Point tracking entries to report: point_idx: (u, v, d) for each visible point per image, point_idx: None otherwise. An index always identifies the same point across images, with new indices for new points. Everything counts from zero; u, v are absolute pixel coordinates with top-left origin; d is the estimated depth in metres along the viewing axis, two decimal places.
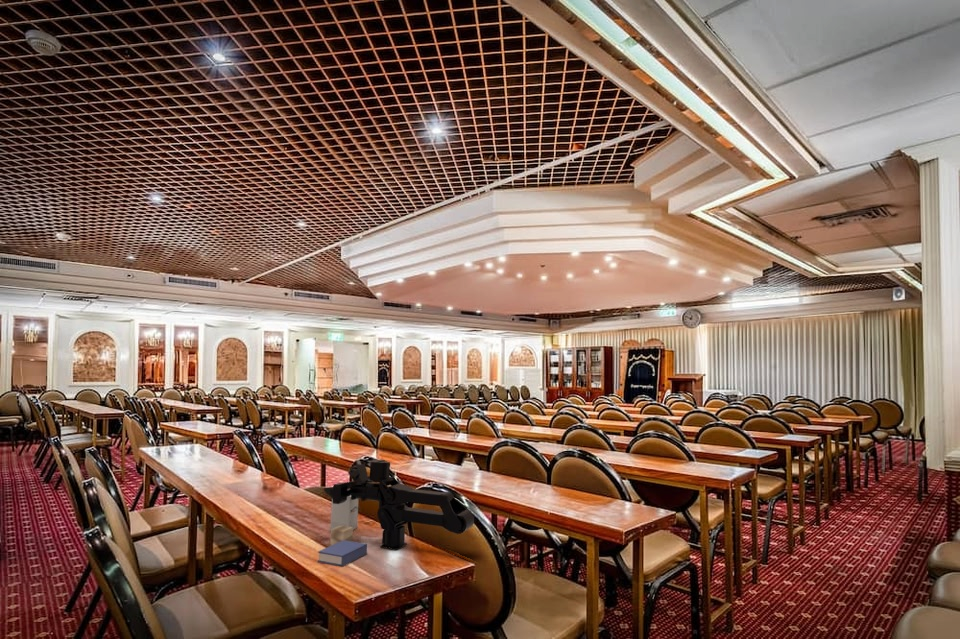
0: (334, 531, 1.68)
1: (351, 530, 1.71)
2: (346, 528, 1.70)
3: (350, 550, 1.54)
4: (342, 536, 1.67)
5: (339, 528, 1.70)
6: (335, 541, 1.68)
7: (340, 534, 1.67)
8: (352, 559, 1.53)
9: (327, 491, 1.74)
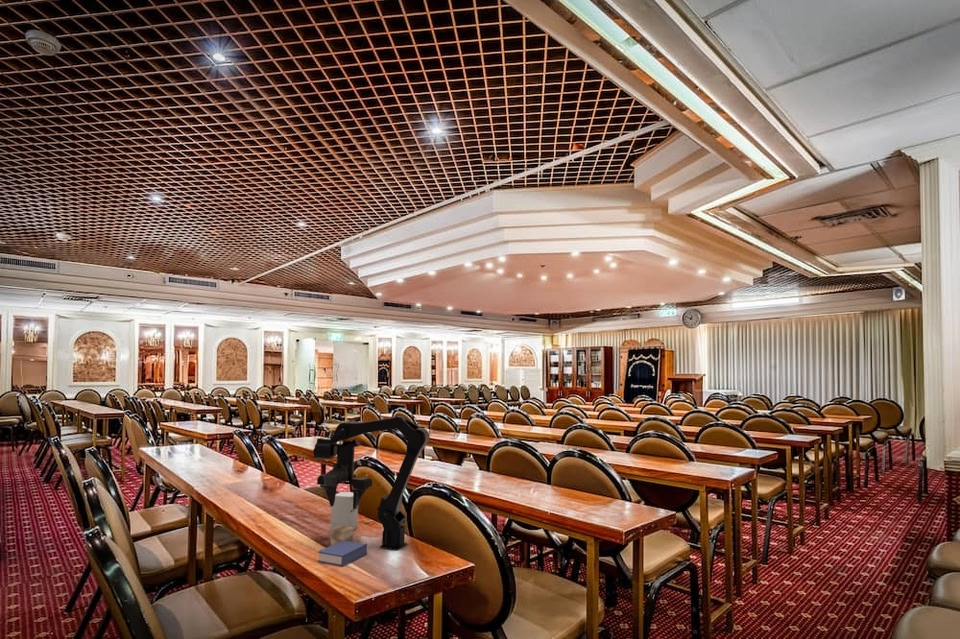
0: (334, 531, 1.68)
1: (351, 530, 1.71)
2: (346, 528, 1.70)
3: (350, 550, 1.54)
4: (342, 536, 1.67)
5: (339, 528, 1.70)
6: (335, 541, 1.68)
7: (340, 534, 1.67)
8: (352, 559, 1.53)
9: (357, 503, 1.70)
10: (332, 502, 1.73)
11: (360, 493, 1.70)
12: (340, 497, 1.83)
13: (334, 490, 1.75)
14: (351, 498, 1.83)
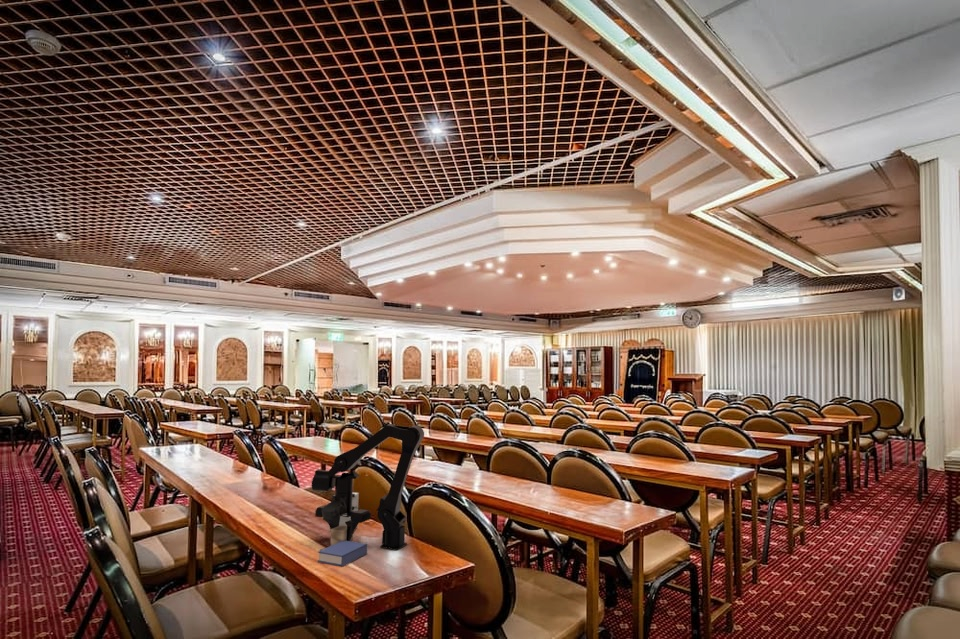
0: (334, 530, 1.68)
1: None
2: (346, 528, 1.70)
3: (350, 550, 1.54)
4: (342, 535, 1.67)
5: (339, 528, 1.70)
6: (335, 541, 1.68)
7: (340, 534, 1.67)
8: (352, 559, 1.53)
9: (351, 535, 1.69)
10: None
11: (354, 525, 1.70)
12: None
13: (337, 523, 1.73)
14: None
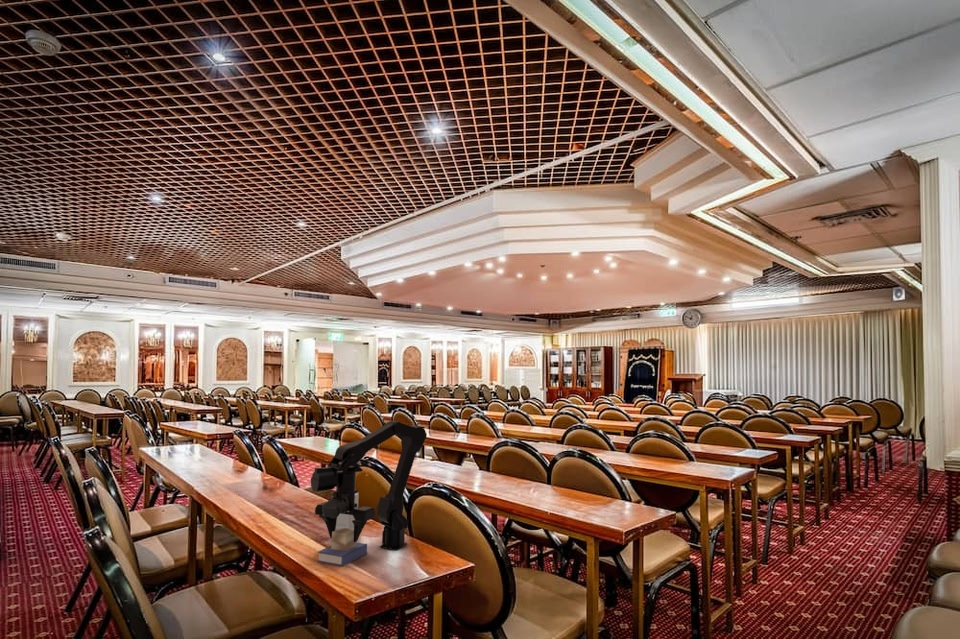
0: (335, 533, 1.55)
1: None
2: (348, 530, 1.57)
3: (350, 550, 1.54)
4: (344, 539, 1.54)
5: (341, 530, 1.57)
6: (336, 545, 1.55)
7: (342, 537, 1.54)
8: (352, 559, 1.53)
9: (358, 535, 1.55)
10: None
11: (361, 524, 1.56)
12: None
13: (334, 520, 1.60)
14: None
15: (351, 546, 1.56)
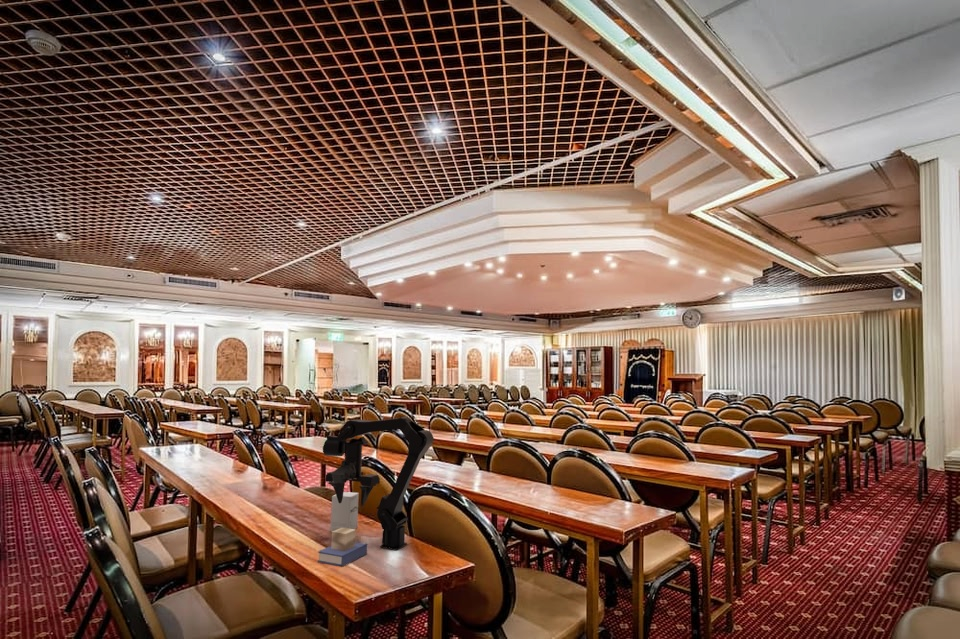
0: (335, 533, 1.55)
1: (354, 532, 1.58)
2: (348, 530, 1.57)
3: (350, 550, 1.54)
4: (344, 539, 1.54)
5: (341, 530, 1.57)
6: (336, 545, 1.55)
7: (342, 537, 1.54)
8: (352, 559, 1.53)
9: (365, 499, 1.72)
10: (340, 499, 1.75)
11: (368, 490, 1.73)
12: None
13: (342, 487, 1.77)
14: (351, 498, 1.83)
15: (351, 546, 1.56)
